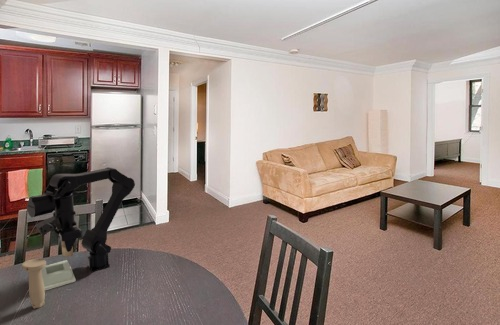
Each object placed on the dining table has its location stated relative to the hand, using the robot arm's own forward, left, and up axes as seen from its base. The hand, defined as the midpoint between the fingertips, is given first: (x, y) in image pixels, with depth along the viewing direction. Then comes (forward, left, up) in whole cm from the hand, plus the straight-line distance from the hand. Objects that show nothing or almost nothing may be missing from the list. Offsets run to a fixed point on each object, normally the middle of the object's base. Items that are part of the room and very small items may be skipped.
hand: (67, 249), depth 105 cm
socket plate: (+4, -3, -12) cm, 13 cm away
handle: (+10, +11, -12) cm, 19 cm away
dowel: (0, 0, -2) cm, 2 cm away
